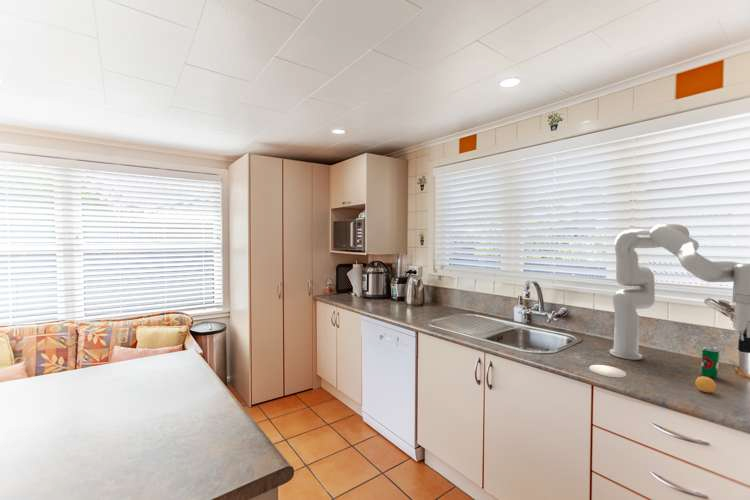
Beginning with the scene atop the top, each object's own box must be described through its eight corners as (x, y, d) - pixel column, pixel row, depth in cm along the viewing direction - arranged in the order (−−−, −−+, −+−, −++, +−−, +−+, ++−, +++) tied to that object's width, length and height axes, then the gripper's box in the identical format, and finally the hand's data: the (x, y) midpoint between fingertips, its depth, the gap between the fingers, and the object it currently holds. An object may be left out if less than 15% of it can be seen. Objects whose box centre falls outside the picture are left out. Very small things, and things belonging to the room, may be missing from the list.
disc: (591, 362, 155) (591, 362, 155) (627, 370, 146) (627, 369, 146) (587, 372, 144) (587, 371, 144) (625, 380, 136) (625, 379, 136)
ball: (694, 386, 131) (695, 372, 130) (714, 391, 127) (715, 376, 127) (695, 392, 126) (696, 377, 126) (716, 396, 123) (717, 381, 123)
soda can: (719, 379, 137) (721, 350, 136) (702, 377, 140) (703, 347, 139) (715, 375, 141) (717, 346, 141) (699, 372, 144) (700, 344, 143)
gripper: (728, 295, 127) (726, 344, 128) (736, 301, 115) (734, 355, 116) (758, 297, 123) (755, 348, 124) (770, 304, 111) (767, 360, 112)
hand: (745, 351), depth 120 cm, fingers closed
